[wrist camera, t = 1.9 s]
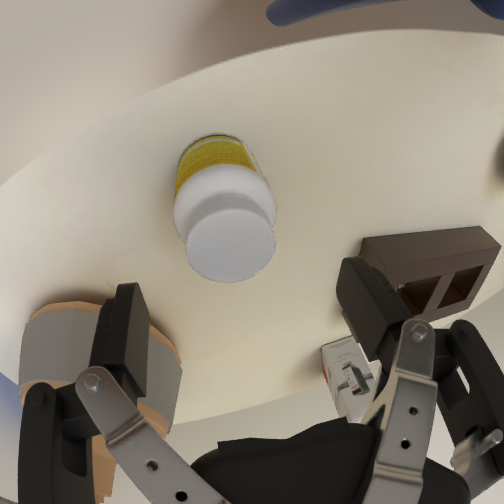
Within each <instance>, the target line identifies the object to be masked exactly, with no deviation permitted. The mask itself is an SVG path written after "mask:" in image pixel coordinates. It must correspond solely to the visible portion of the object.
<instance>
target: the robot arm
mask: <svg viewBox="0 0 504 504" xmlns="http://www.w3.org/2000/svg"><path fill="white" fill-rule="evenodd" d="M336 294H337V298H338V301H339V303H340V305H341V307H342V309H343V311H344V312H345V314H346V316H347V318H348V320H349V322H350V324H351V326H352V328H353V330H354V332H355V334H356V336H357V338H358V340H359V342H360V344H361V346H362V348H363V350H364V352H365V354H366V356H367V359H368V361H369V362H372V361H375V360H378V359H379V360H380V362H381V365H380V367H379V370H378V375H377V378H376V382H375V385H374V389H373V393H372V396H371V399H370V403H369V406H368V408H367V410H366V412H365V414H364V416H363V418H362V420H361V423H348V421H347V418H346V416H344V417H341V418H337V419H334V420H331V421H327V422H323V423H320V424H316V425H314V426H312V427H310V428H308V429H306V430H305V431H303V432H300V433H298V434H296V435H294V436H292V437H291V438H288V439H263V438H245V439H238V440H230V441H221V442H217V443H218V449H215V450H212V451H210V452H208V453H206V454H204V455H203V456H201V457H200V458H198V459H197V460H196V461H195V462H194V463H192V465H190V466H189V465H188V464H187V463H186V462H185V461H184V460H183V459H182V458H181V457H180V456H179V455H178V454H177V453H176V452H175V451H174V449H173V448H172V447H170V445H169V444H168V443H167V442H166V441H165V440H164V439H163V438H162V437H161V435H160V434H159V433H158V432H157V431H156V430H155V429H154V428H153V426H152V425H151V424H150V423H149V422H148V420H147V419H146V418H145V417H144V416H143V415H142V413H141V412H140V411H139V410H138V408H137V399H138V398H141V397H146V392H147V361H148V342H149V327H150V320H149V313H148V309H147V307H146V304H145V301H144V298H143V295H142V292H141V289H140V287H139V284H138V283H137V282H135V283H125V284H119V285H118V286H117V290H116V294H115V298H111V299H107V300H106V302H105V303H104V305H103V306H102V307H101V309H100V313H99V317H98V323H97V326H96V332H95V335H94V340H93V345H92V350H91V355H90V361H89V366H88V368H87V369H85V370H83V371H82V372H81V373H80V374H79V376H78V378H77V380H76V382H74V383H72V384H69V385H66V386H63V387H59V388H56V389H54V388H53V387H52V386H51V385H50V384H48V383H45V382H39V383H36V384H34V385H33V386H31V387H30V388H29V390H28V391H27V393H26V396H25V400H24V407H23V415H22V422H21V430H20V441H19V456H18V457H19V458H18V504H96V503H95V492H94V479H93V459H92V437H93V436H96V435H100V434H102V435H103V437H104V438H105V440H106V443H105V444H106V447H107V448H108V450H109V452H110V453H111V454H112V456H113V457H114V459H115V460H116V461H117V463H118V464H119V465H120V466H121V468H122V469H123V470H124V472H125V473H126V474H127V475H128V476H129V478H130V479H131V480H132V482H133V483H134V484H135V485H136V486H137V488H138V489H139V490H140V491H141V492H142V493H143V494H144V496H145V497H146V498H147V499H148V500H149V501H150V502H151V503H152V504H470V502H471V500H472V499H474V498H475V497H477V496H478V495H480V494H481V493H482V492H484V491H485V490H487V489H488V488H489V487H491V486H492V485H493V484H495V483H496V482H497V481H498V480H500V479H503V478H504V375H503V373H502V371H501V369H500V367H499V365H498V364H497V362H496V360H495V359H494V357H493V355H492V353H491V352H490V350H489V348H488V347H487V345H486V343H485V342H484V340H483V338H482V337H481V335H480V334H479V332H478V330H477V329H476V327H475V326H474V325H473V324H472V323H470V322H468V321H466V320H461V319H460V320H456V321H455V322H454V323H453V324H452V326H451V327H450V329H433V328H432V326H431V325H430V324H429V323H428V322H426V321H424V320H422V319H419V318H414V317H413V316H412V314H411V312H410V311H409V309H408V308H407V307H406V305H405V304H404V302H403V301H402V299H401V298H400V296H399V295H398V293H397V292H395V289H394V288H393V286H392V285H390V282H389V281H388V279H387V278H386V276H385V275H384V274H383V273H382V272H381V271H379V270H378V269H377V268H375V267H370V266H369V264H368V263H367V262H366V260H365V259H364V258H363V257H362V256H356V257H349V258H344V259H343V260H342V264H341V268H340V273H339V277H338V281H337V286H336ZM459 366H460V368H461V370H462V372H463V374H464V376H465V378H466V380H467V382H468V383H469V387H470V391H469V394H468V392H467V390H466V388H465V386H464V384H463V382H462V380H461V378H460V376H459V374H458V372H457V368H458V367H459ZM436 402H437V405H438V407H439V409H440V411H441V414H442V416H443V418H444V421H445V423H446V426H447V428H448V431H449V433H450V436H451V438H452V441H453V443H454V446H455V449H454V453H453V457H452V458H451V460H450V464H451V466H452V467H454V471H452V470H450V469H448V468H446V467H444V466H442V465H441V464H439V463H437V462H435V461H433V460H431V459H429V458H427V457H426V455H427V450H428V446H429V441H430V436H431V431H432V426H433V420H434V413H435V407H436Z"/></svg>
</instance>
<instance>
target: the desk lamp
mask: <svg viewBox="0 0 504 504" xmlns="http://www.w3.org/2000/svg"><path fill="white" fill-rule="evenodd" d="M101 307H102V305H97V304H92V303H87V302H82V301H71V302H62V303H52V304H47V305H46V306H44V307H43V308H41V309H40V310H38V311H37V312H35V313H34V314H32V315H31V316H30V319H29V322H28V323H26V326H25V330H24V334H23V338H22V345H21V355H20V367H19V387H18V388H19V389H18V395H19V397H20V398H21V404H22V406H23V407H24V400H25V396H26V393H27V391H28V390H29V388H30V387H31V386H33V385H34V384H36V383H39V382H45V383H48V384H50V385H51V386H52V387H53V388H54V389H56V388H59V387H63V386H66V385H69V384H72V383H74V382H76V380H77V378H78V376H79V374H80V373H81V372H82V371H83V370H85V369H87V368H88V366H89V361H90V355H91V350H92V345H93V340H94V335H95V332H96V326H97V323H98V317H99V313H100V309H101ZM180 364H181V361H180V359H179V356H178V354H177V352H176V349H175V347H174V345H173V343H172V342H171V341H170V340H168V339H167V338H166V337H165V336H164V335H163V334H161V333H160V332H159V331H158V330H157V329H156V328H154V327H153V326H152V325H151V324H150V327H149V342H148V361H147V392H146V397H141V398H138V399H137V408H138V410H139V411H140V412H141V413H142V415H143V416H144V417H145V418H146V419H147V420H148V422H149V423H150V424H151V425H152V426H153V428H154V429H155V430H156V431H157V432H158V433H159V434H160V435H161V437H162V438H163V439H164V440H165V437H166V435H167V434H169V432H170V429H171V427H172V423H173V418H174V412H175V407H176V401H177V396H178V391H179V386H180V381H181V376H182V369H181V367H180ZM105 443H106V440H105V438H104V437H103V435H102V434H100V435H96V436H93V437H92V459H93V479H94V492H95V503H96V504H99V502H100V503H104V496H106V497H111V494H112V486H113V480H114V473H115V467H116V464H117V461H116V460H115V459H114V457H113V456H112V454H111V453H110V452H109V450H108V448H107V447H106V444H105ZM0 504H18V503H16V502H13V501H10V500H7V499H5V498H3V497H0Z"/></svg>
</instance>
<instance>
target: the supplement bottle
mask: <svg viewBox="0 0 504 504" xmlns="http://www.w3.org/2000/svg"><path fill="white" fill-rule="evenodd" d="M275 219H276V202H275V198H274V195H273V193H272V191H271V188H270V186H269V184H268V182H267V180H266V179H265V177H264V175H263V173H262V171H261V169H260V168H259V166H258V164H257V162H256V160H255V158H254V156H253V154H252V153H251V151H250V150H249V148H248V147H247V146H246V145H245V144H244V143H243V142H242V141H241V140H239V139H238V138H236V137H234V136H232V135H228V134H224V133H213V134H208V135H204V136H202V137H200V138H198V139H196V140H195V141H193V142H192V143H191V144H190V145H189V146H188V147H187V148H186V150H185V151H184V153H183V154H182V156H181V159H180V162H179V165H178V172H177V179H176V187H175V196H174V203H173V220H174V225H175V228H176V231H177V233H178V235H179V237H180V238H181V240H182V241H183V242H184V243H185V249H186V256H187V259H188V261H189V263H190V265H191V266H192V267H193V269H194V270H195V271H196V272H197V273H199V274H200V275H201V276H203V277H205V278H207V279H209V280H212V281H216V282H223V283H231V282H238V281H242V280H246V279H248V278H250V277H252V276H254V275H256V274H257V273H259V272H260V271H261V270H263V269H264V268H265V267H266V266H267V264H268V263H269V262H270V260H271V258H272V256H273V254H274V251H275V246H276V240H275V234H274V231H273V226H274V223H275Z"/></svg>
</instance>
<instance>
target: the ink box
mask: <svg viewBox="0 0 504 504" xmlns="http://www.w3.org/2000/svg"><path fill="white" fill-rule="evenodd" d="M322 360H323V374H324V376H325V379H326V382H327V384H328V387H329V390H330V392H331V395H332V398H333V400H334V403H335V406H336V409H337V412H338V414H339V417H340V418H341V417H344V416H346V418H347V421H348V423H361V420H362V418H363V416H364V414H365V412H366V410H367V408H368V406H369V403H370V399H371V396H372V393H373V389H374V385H375V380H374V378H373V375H372V373H371V371H370V369H369V366H368V364H367V362H366V360H365V358H364V356H363V354H362V352H361V349H360V347H359V345H358V343H356V341H355V339H354V337H353V336H351V337H348V338H345V339H342V340H339V341H336V342H333V343H330V344H327V345H324V346H322Z"/></svg>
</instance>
